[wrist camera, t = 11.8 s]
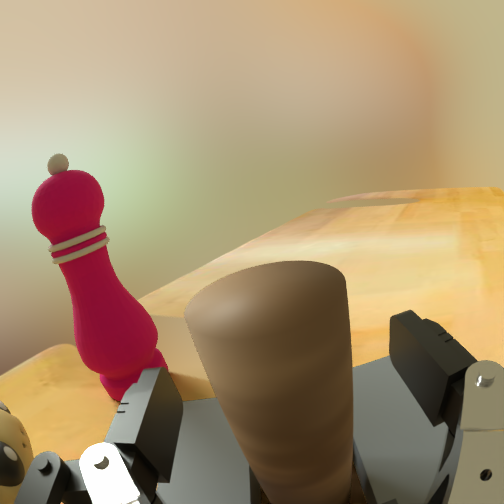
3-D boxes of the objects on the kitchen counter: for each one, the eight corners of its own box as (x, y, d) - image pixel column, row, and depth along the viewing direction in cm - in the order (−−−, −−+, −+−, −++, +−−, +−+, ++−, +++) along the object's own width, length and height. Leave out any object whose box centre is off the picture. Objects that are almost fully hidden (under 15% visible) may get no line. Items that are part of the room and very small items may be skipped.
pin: (279, 537, 8) (168, 353, 5) (273, 482, 11) (196, 279, 8) (356, 520, 8) (372, 308, 5) (341, 467, 11) (321, 250, 8)
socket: (166, 613, 3) (137, 609, 3) (190, 425, 17) (176, 401, 16) (488, 546, 3) (512, 532, 2) (394, 380, 16) (396, 352, 16)
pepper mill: (93, 384, 22) (12, 178, 17) (148, 349, 28) (84, 156, 22) (124, 419, 18) (16, 153, 12) (190, 372, 23) (112, 129, 17)
